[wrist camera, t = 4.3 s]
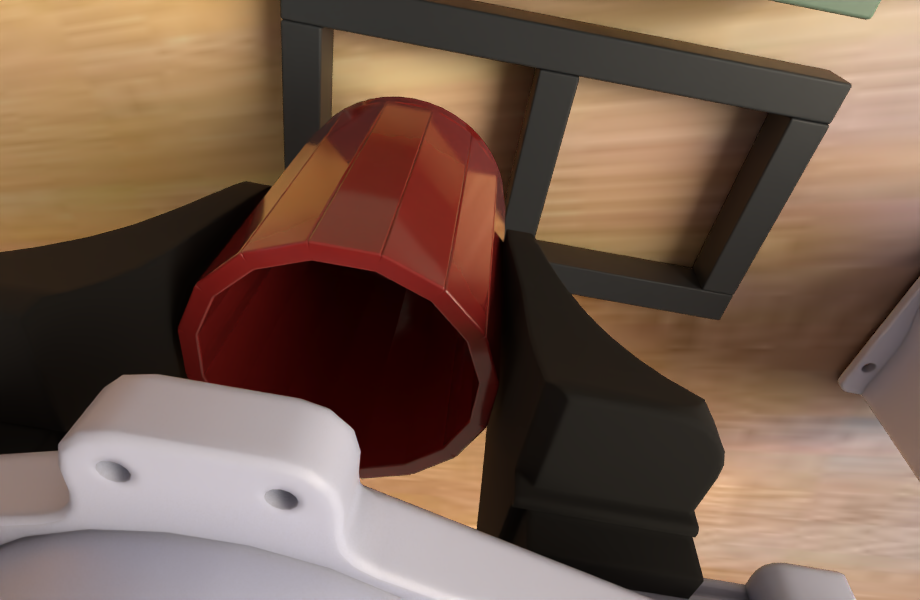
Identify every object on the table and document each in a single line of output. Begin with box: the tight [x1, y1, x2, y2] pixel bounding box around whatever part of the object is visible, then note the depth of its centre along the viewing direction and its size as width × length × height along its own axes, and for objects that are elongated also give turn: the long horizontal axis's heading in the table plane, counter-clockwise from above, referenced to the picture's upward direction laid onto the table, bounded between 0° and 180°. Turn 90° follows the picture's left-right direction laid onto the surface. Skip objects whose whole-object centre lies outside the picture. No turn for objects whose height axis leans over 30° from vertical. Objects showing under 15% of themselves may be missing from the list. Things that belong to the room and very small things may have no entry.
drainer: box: [280, 0, 851, 320], centre depth 19 cm, size 9×16×2 cm, turn 81°
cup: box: [177, 97, 505, 478], centre depth 13 cm, size 6×6×7 cm
